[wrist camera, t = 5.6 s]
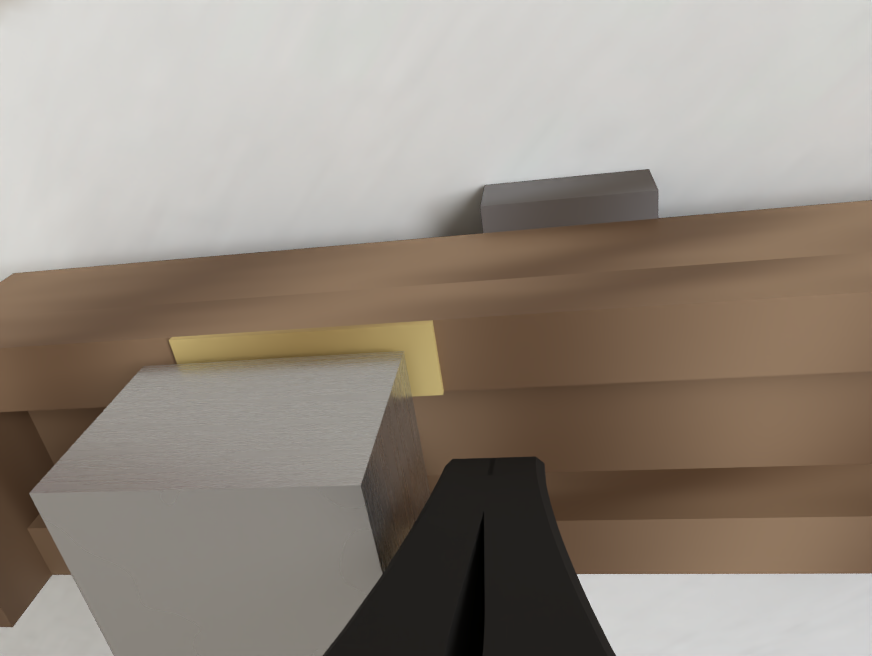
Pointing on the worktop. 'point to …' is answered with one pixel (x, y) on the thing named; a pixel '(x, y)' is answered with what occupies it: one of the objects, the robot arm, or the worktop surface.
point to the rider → (239, 502)
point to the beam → (521, 367)
